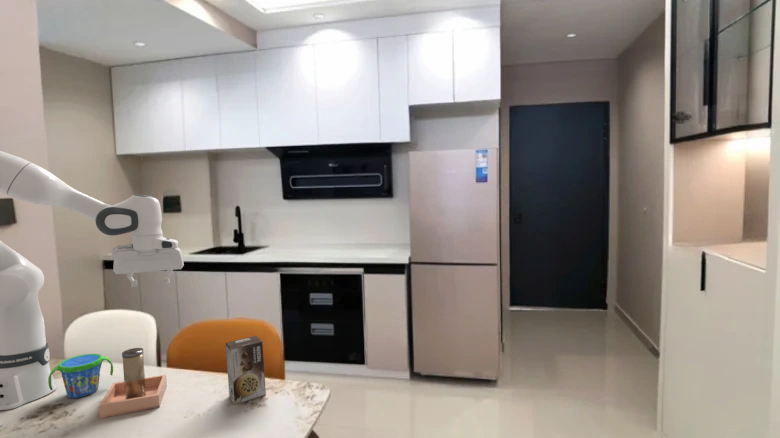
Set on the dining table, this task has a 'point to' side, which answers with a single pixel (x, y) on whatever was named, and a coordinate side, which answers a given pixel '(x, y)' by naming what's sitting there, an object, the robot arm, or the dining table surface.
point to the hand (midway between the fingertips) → (150, 284)
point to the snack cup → (81, 374)
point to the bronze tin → (134, 373)
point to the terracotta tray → (119, 405)
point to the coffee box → (245, 369)
